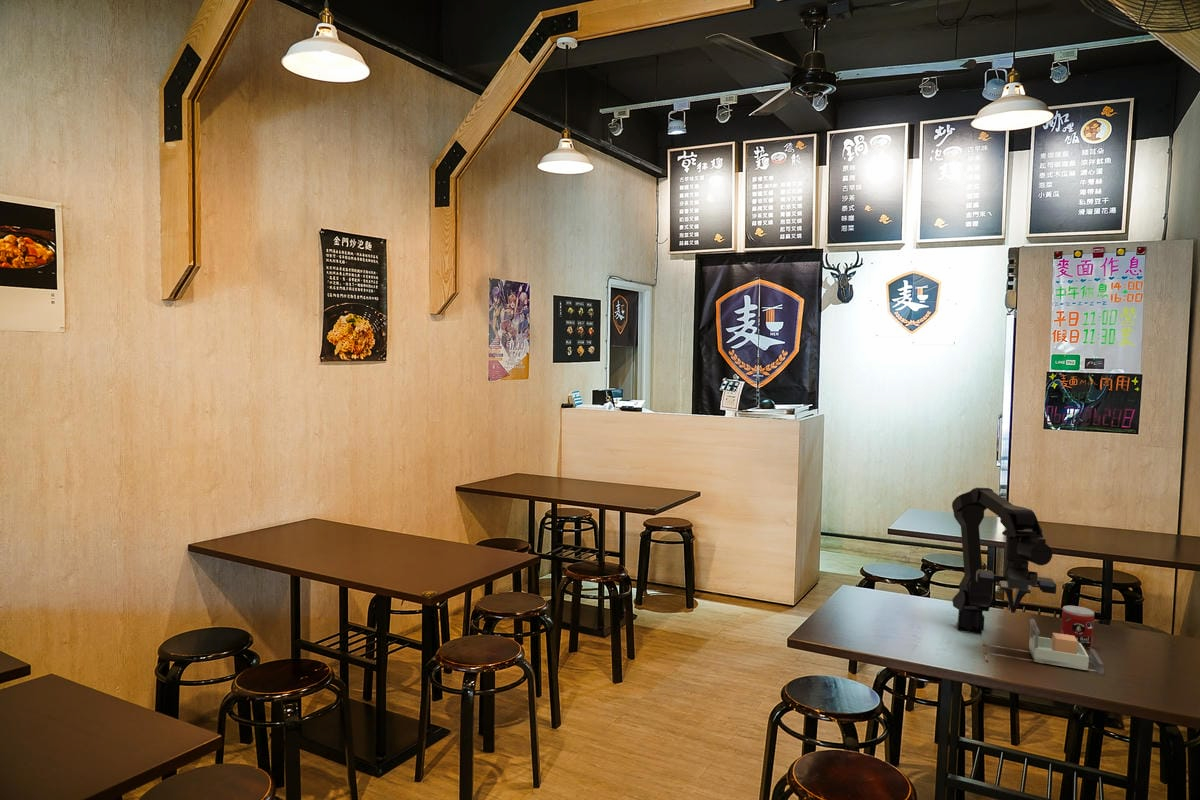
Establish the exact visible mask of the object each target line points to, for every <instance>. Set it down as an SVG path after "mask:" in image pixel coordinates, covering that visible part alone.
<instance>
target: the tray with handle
mask: <svg viewBox="0 0 1200 800" xmlns="http://www.w3.org/2000/svg"><path fill="white" fill-rule="evenodd" d="M1029 622H1030V628H1029V629H1030V630H1029V643H1028V649H1029V651H1030V652H1031V653H1030V652H1029V653H1030V654H1031V656H1032V660H1034V661H1033V662H1034V663H1038V664H1041V665H1042V664H1047V665H1053V666H1059V667H1065V668H1070V669H1076V670H1077V669H1078V670H1079V671H1083V670H1084V671H1089V670H1088V669H1089V663H1090V662H1089V661H1090V659H1089V655H1088V653H1087V651H1086V650H1085V649H1084V648H1083V646H1082V644H1081V643H1078V648H1077V654H1071V653H1065V652H1058V651H1052V638H1049V637H1044V636H1043V637H1042V636H1039V635H1040V634H1041V631H1040V629H1039V627H1038V625H1037V623H1036V619H1034V618H1030V619H1029Z"/></svg>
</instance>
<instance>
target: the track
mask: <svg viewBox="0 0 1200 800" xmlns="http://www.w3.org/2000/svg"><path fill="white" fill-rule="evenodd" d="M980 643H981V647H982V652H983V657H984V661H985V663H986V662H987V663H988V664H989V662H990V661H989V659H988V655H993V656H999V657H1005V658H1011V659H1018V660H1022V661H1023V660H1024V661H1031V662H1034V659H1029V658H1022V657H1017V656H1011V655H1004V654H999V653H998V654H997V653H993V652H992V653H991V652H988V651H987V649H986V646H988V647H995V648H1000V649H1004V650H1005V649H1007V650H1012V651H1019V652H1024V653H1030V654H1031V652H1030V650H1025V649H1024V650H1023V649H1017V648H1011V647H1007V646H1006V647H1004V646H998V645H993V644H986V643H985V641H984V639H981V640H980ZM1088 656H1089V663H1091V664H1092V666H1093V668H1094V669H1091V668H1088V670H1087V671H1091V672H1096V673H1097V675H1098V676H1104V672H1105V671H1104V670H1105V669H1104V668H1105V664H1104V662H1103V661H1102V659H1101V658H1100V656H1099V654H1098V653H1097V651H1096V649H1094V648H1091V649H1089V655H1088Z"/></svg>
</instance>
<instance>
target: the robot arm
mask: <svg viewBox="0 0 1200 800" xmlns="http://www.w3.org/2000/svg"><path fill="white" fill-rule="evenodd" d="M951 503H952V504H951V508H952V511H953V517H954V519H955V521H956V522H957V523H958V524H959V526H960V532H961V545H962V558H963V572H964V573H963V578H962V579H961V581H960V582H959V587H958V590H959V591H958V592H957V594H955V596H954V597H952V607H954V608H955V609H957V610H958V614H957V623H956V628H957V631H960V632H966V633H971V634H979V635H983V632H982V631H984V630H985V629H984V628H985V615H984V613H983V612H989V611H990V607H991V605H992V601H993V592H992V584H994V582H995V583H998V586H999V589H1000V590H1001V591H1002V590H1003V591H1004V592H1005V595H1006V598H1007V602H1008V606H1009V608H1010V613H1011V614H1016V612H1017V609H1018V608H1019V606H1020V602H1021V601H1022V600H1023V598H1024V597H1025V596H1026V595H1027V594H1031V593H1032V591H1031V588H1032V587H1033V588H1039V590H1040V591H1041V592H1042V593H1046V594H1053V595H1054V594H1057V584H1056V582H1055V580H1054V579H1053V578H1050V577H1042V576H1038V571H1031V570H1030V571H1029V562H1030V563H1032V564H1035V565H1037V566H1046V565H1047V564H1049V563H1050V561H1052V558H1053V552H1052V551H1053V550H1052V549H1051V547H1050V546H1049V545H1048V544H1046V543H1047V542H1046V539H1045V538H1044V534H1043V530H1042V528H1041V526H1040V524H1039V523H1040V522H1039V521H1038V518H1037V515H1036V513H1035V512H1034V510H1032V509H1030V508H1026V507H1024V506H1018V505H1015V504H1012V503H1011V502H1009V501H1008V500H1006V499H1005V498H1003V497H1002V496H1000V495H999V494H998V493H996V492H995V491H994V490H993V489H992V488H989V487H974V488H972V489H971V490H970V491H967V492H965V493H961V494H960V495H957V496H956V497H955V499H953V500H952V502H951ZM987 509H988V510H989V511H990V512H992V513H993V514H995V515H996V516H998V517H999V522H1000V524H1001V525H1002V526H1003V527H1004V528H1005V530H1003V531H1002V533H1001V534H1002V535H1004V536H1005V552H1004V562H1003V564H1004V565H1003V575H1000V574H994V572H993V570H989V569H987V570H986V569H983V562H982V561H983V560H982V549H981V548H982V547H981V534H980V526H981V523H982V521H983V520H984V518H985V511H986V510H987ZM1014 589H1015V593H1014V592H1013V591H1014ZM1013 595H1014V597H1013Z"/></svg>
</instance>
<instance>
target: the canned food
mask: <svg viewBox="0 0 1200 800" xmlns="http://www.w3.org/2000/svg"><path fill="white" fill-rule="evenodd" d="M1061 611H1062V613H1061V625H1060V627H1061V628H1060V634H1066V635H1072V636H1075V638H1076V639H1077V641H1078V643H1081V644H1082V646H1083V648H1084V649H1085V651H1086V650H1090V649H1093V638H1094V627H1095V611H1094V610H1092V609H1090V608H1087V607H1083V606H1076V605H1064V606H1063V607H1062V610H1061Z"/></svg>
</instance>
